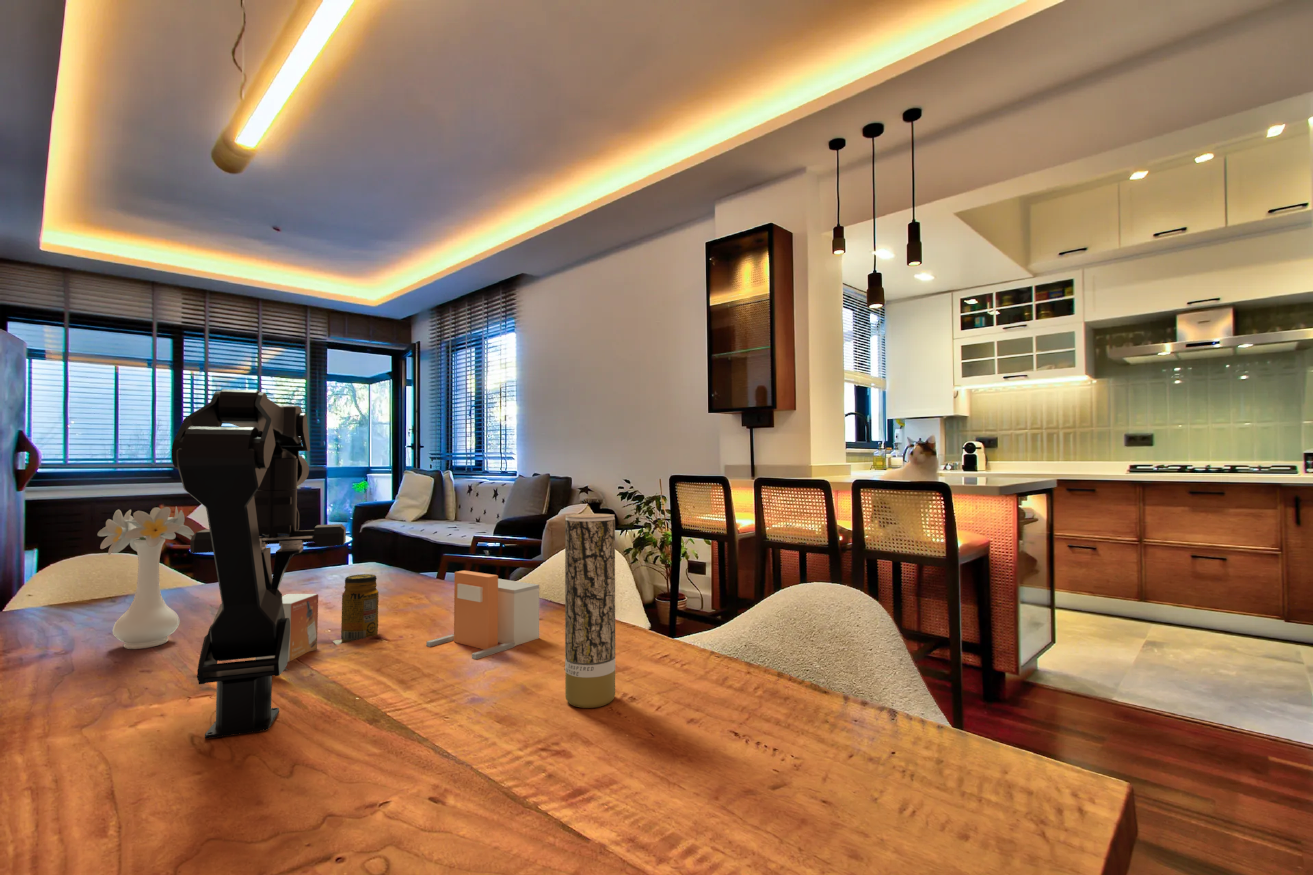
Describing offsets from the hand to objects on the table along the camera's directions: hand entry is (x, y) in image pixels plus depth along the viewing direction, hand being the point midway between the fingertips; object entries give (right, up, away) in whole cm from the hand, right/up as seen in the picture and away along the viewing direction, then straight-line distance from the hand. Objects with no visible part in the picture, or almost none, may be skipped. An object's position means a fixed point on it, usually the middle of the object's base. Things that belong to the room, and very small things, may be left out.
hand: (272, 597), depth 89 cm
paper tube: (+47, -13, -6) cm, 49 cm away
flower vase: (-37, -15, +22) cm, 46 cm away
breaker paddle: (+25, -12, +15) cm, 32 cm away
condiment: (+2, -14, +22) cm, 26 cm away
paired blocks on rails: (+25, -14, +15) cm, 32 cm away
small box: (-4, -14, +11) cm, 18 cm away
